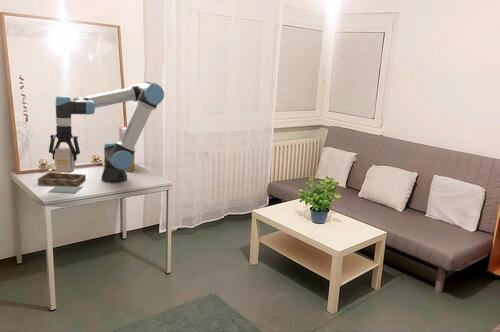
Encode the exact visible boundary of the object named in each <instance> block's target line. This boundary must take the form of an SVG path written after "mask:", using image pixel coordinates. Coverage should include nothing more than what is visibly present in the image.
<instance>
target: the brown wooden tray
mask: <svg viewBox="0 0 500 332" xmlns="http://www.w3.org/2000/svg"><path fill="white" fill-rule="evenodd" d="M86 178H87V177H86V174H81V173H79V174H78V173H64V172H47V173H45V174H43V175H42V176H39V177H38V178H37V184H38V185H41V186H55V187H56V186H57V185H59V186H77V187H80V185H82V184H83V183H84V182H85V181H86Z"/></svg>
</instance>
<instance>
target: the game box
mask: <svg viewBox="0 0 500 332" xmlns="http://www.w3.org/2000/svg"><path fill="white" fill-rule="evenodd" d="M126 128H127V126H119V127H118V142H119V141H121V139H122V137H123V134H124V132H125V130H126ZM134 149H135V147H134ZM135 150H136V149H135ZM125 171H126V172H135V154H134V155H133V163H132V165H131V166H130V167H129V168H127V169H125Z"/></svg>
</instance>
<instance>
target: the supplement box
mask: <svg viewBox="0 0 500 332" xmlns="http://www.w3.org/2000/svg"><path fill="white" fill-rule="evenodd" d="M72 155H73V153H72V151H71V149H70V147H62V146H61V147H60V146H59V148H57V149H55V157H56V166H55V173H65V174H72V173H73V172H75V166H74V167H72Z"/></svg>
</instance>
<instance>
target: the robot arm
mask: <svg viewBox="0 0 500 332" xmlns="http://www.w3.org/2000/svg"><path fill="white" fill-rule="evenodd" d="M164 98H165V92H164V89H163V88H162V86H161V85H159V84H158V83H155V82H150V81H149V82H148V81H144V82H141V83H136V84H133V85H130V86H129V87H127V88H122V89H117V90H112V91H107V92H102V93H101V92H100V93H98V94H92V95H91V94H90V95H87V96H81V97H74V98H71V96H68V95H67V96H66V95H57V96H56V97H55V124H56V126H55V127H56V129H55V130H56V134H51V135H50V143H49V147H48V153H50V154H51V155H52V160H53V161H54V167H56V157H55V149H57V148H59V147H60V146H61V143H65V144H66V145H68V148H70V149H71V151H72V153H73V155H72V167H74V168H75V167H76V161H77V159H78V158H77V157H78V155H80V154H81V150H80V147H79V146H80V145H79V142H78V138H79V137H78V136H77V135H73V134H72V131H73V129H72V115H87V116H88V115H94V114H95V111H96V110H95V109H97V108H98V109H99V108H102V107H107V106H112V105H117V104H121V103H126V102H131V101H133V102H135V103H136V102H137V106H136V108H135V110H134V112H133V114H132V116H131V117H130V120H129V122H128V124H127V126H126V127H127V128H126V130H125V132H124V134H123V137H122V139H121V141H119V140H118V141H117V142H106V143H105V144H104V148H103V151H104V152H103V153H104V159H103V160H104V161H103V163H104V167H103V171H102V174H101V181H103V182H104V183H105V182H106V183H112V184H113V183H122V182H123V183H124V182H127V181H128V174H127V171H126V170H125V169H127V168H129V167H130V166H131V165H132V163H133V155H134V156H135V152H136V149H134V147H135V146H136V145H137V142H138V140H139V138H140V136H141V134H142V132H143V130H144V128H145V125H146V123H147V121H148V119H149V117H150V116H151V113H152V112H153V111H155V110H156V109H157V106H158V105H159V104H161V103H162V101H163V100H164ZM56 139H57V142H56V143H55V141H56ZM72 140H73V142H72ZM73 144H74V145H73Z"/></svg>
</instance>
